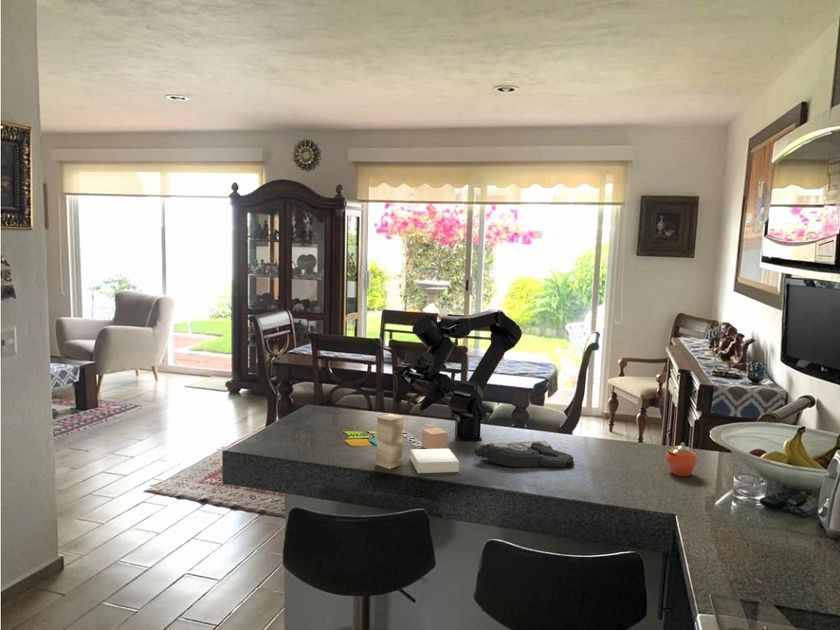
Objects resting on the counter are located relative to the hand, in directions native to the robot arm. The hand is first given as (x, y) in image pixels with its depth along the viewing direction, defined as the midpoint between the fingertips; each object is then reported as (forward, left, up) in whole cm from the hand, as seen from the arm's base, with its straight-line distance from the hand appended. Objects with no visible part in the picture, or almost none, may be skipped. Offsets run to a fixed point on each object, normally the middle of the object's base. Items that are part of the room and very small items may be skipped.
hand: (408, 406), depth 155 cm
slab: (-5, +8, -13) cm, 17 cm away
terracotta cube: (-8, -5, -13) cm, 16 cm away
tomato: (-65, +20, -13) cm, 70 cm away
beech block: (+6, +7, -13) cm, 16 cm away
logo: (+6, -16, -13) cm, 21 cm away
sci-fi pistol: (-29, +8, -13) cm, 33 cm away
